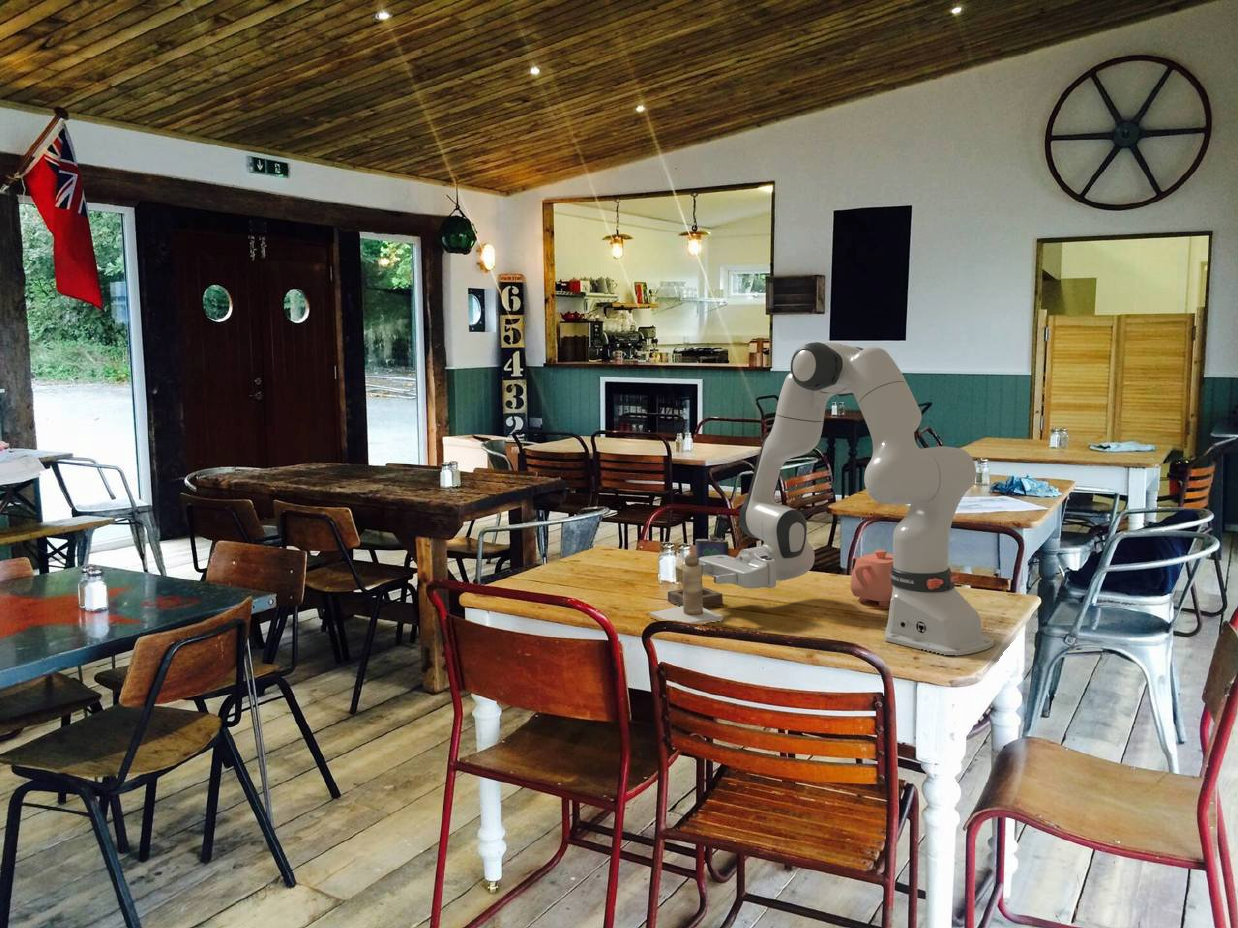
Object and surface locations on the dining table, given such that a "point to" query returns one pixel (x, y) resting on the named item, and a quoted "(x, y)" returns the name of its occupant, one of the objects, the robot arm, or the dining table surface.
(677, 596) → the holder
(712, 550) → the flask
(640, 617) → the dining table surface
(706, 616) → the board
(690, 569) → the mill
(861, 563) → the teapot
